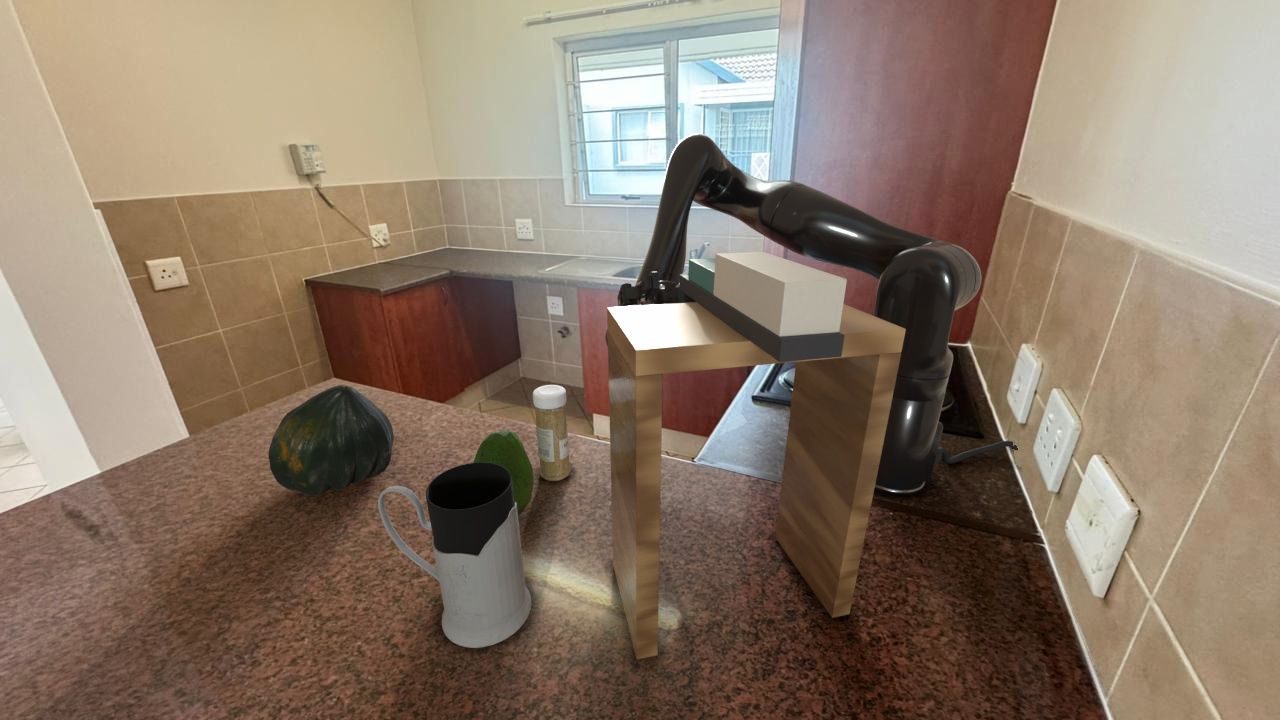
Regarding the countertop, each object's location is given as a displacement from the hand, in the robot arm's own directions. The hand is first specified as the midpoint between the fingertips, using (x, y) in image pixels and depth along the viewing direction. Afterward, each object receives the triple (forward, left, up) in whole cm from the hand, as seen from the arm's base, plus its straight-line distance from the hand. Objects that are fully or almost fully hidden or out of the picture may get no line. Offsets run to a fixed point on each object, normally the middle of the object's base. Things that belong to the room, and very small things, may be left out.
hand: (693, 278), depth 55 cm
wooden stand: (0, +14, -31) cm, 34 cm away
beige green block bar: (0, +13, -1) cm, 13 cm away
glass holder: (+27, +10, -31) cm, 42 cm away
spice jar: (+16, -12, -31) cm, 37 cm away
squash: (+46, -18, -31) cm, 58 cm away
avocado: (+23, -4, -31) cm, 39 cm away
